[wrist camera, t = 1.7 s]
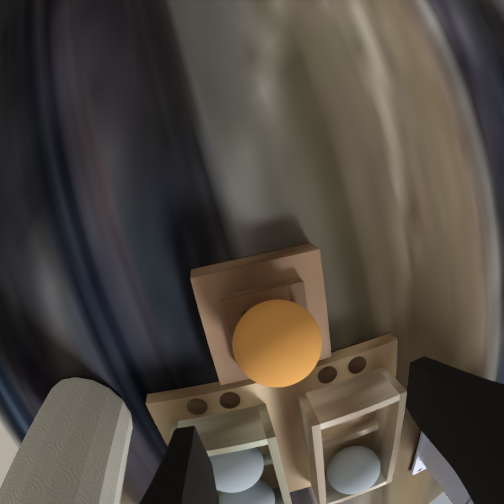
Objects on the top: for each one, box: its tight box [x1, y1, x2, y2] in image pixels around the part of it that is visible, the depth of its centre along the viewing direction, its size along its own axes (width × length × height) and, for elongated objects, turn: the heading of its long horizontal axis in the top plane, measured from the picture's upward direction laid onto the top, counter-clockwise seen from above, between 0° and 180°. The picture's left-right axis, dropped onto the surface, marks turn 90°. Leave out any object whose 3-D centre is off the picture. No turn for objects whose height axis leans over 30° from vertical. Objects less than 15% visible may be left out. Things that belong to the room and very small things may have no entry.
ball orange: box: [232, 299, 322, 387], centre depth 14 cm, size 4×4×4 cm
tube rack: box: [146, 333, 407, 504], centre depth 18 cm, size 16×13×4 cm
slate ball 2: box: [219, 478, 275, 504], centre depth 18 cm, size 4×4×4 cm
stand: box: [190, 243, 331, 385], centre depth 17 cm, size 6×6×2 cm
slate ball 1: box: [209, 447, 264, 493], centre depth 17 cm, size 4×4×4 cm
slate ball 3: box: [327, 445, 381, 494], centre depth 19 cm, size 4×4×4 cm
